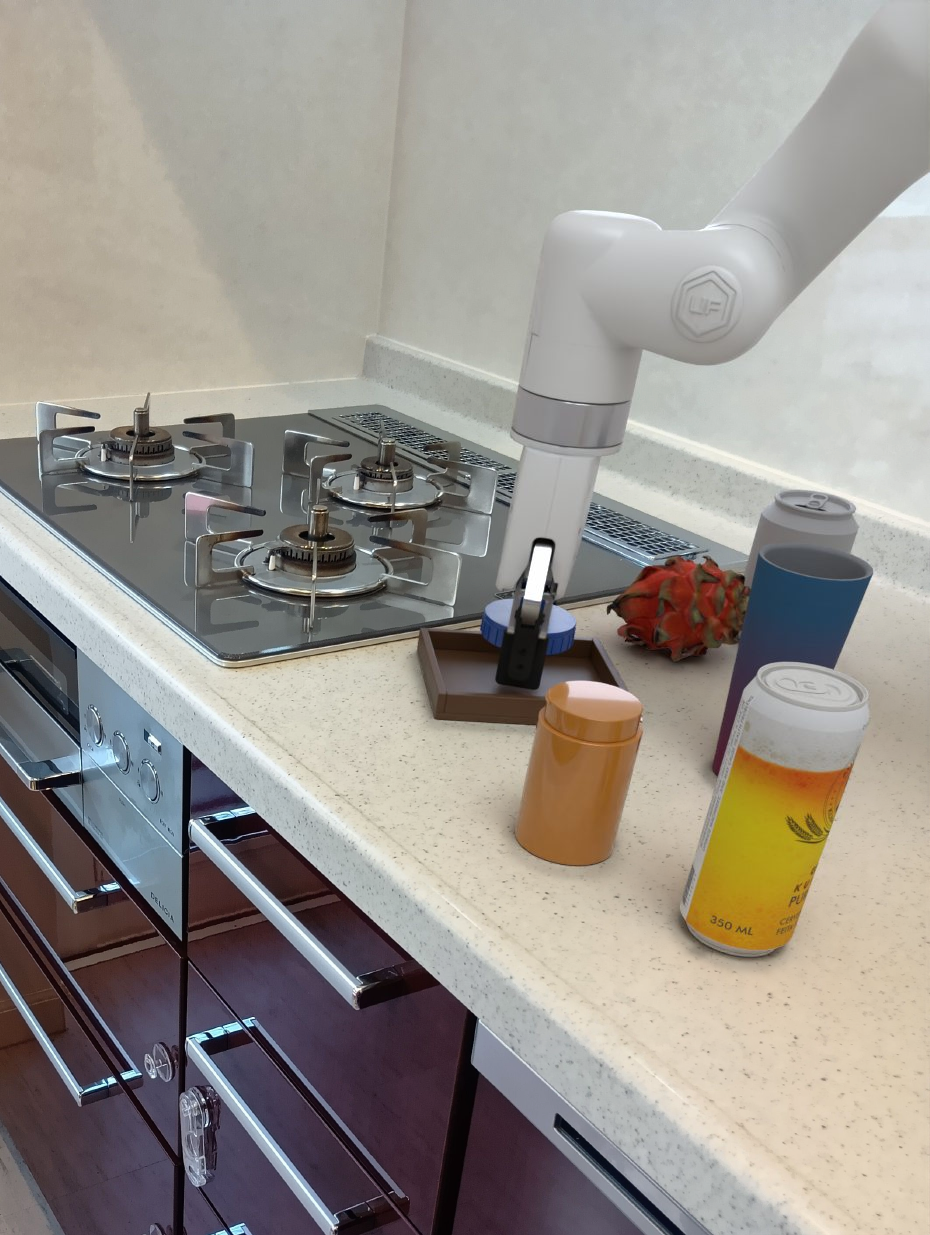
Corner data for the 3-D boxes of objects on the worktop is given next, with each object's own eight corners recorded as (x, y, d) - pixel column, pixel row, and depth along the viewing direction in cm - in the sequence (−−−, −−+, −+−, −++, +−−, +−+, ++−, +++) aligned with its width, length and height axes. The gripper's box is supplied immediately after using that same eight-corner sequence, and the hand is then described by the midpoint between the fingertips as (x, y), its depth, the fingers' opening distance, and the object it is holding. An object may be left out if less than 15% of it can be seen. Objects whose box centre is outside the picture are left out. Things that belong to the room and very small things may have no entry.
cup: (708, 741, 93) (767, 535, 84) (807, 766, 90) (877, 556, 82) (690, 780, 88) (751, 564, 79) (794, 808, 85) (869, 588, 77)
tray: (593, 661, 104) (598, 638, 103) (630, 730, 94) (637, 705, 92) (416, 651, 103) (419, 627, 102) (434, 719, 93) (438, 693, 92)
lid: (486, 652, 93) (490, 630, 92) (474, 616, 99) (478, 595, 98) (580, 659, 93) (585, 636, 92) (563, 622, 99) (567, 601, 98)
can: (715, 640, 109) (755, 497, 103) (743, 616, 114) (782, 478, 108) (805, 666, 106) (852, 519, 99) (829, 639, 111) (876, 499, 104)
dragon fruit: (749, 678, 107) (601, 689, 107) (732, 589, 110) (588, 600, 110) (781, 622, 99) (621, 634, 100) (761, 528, 102) (606, 540, 102)
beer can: (797, 970, 70) (890, 717, 62) (681, 953, 71) (758, 700, 62) (779, 908, 75) (863, 667, 67) (672, 893, 76) (741, 652, 67)
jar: (601, 817, 83) (634, 681, 77) (623, 868, 78) (660, 726, 72) (507, 812, 82) (534, 675, 77) (523, 863, 77) (553, 720, 72)
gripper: (524, 386, 95) (484, 617, 105) (500, 443, 81) (456, 704, 91) (628, 399, 94) (578, 632, 104) (622, 459, 80) (564, 723, 90)
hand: (521, 664), depth 97 cm, fingers closed on lid, 6 cm apart
